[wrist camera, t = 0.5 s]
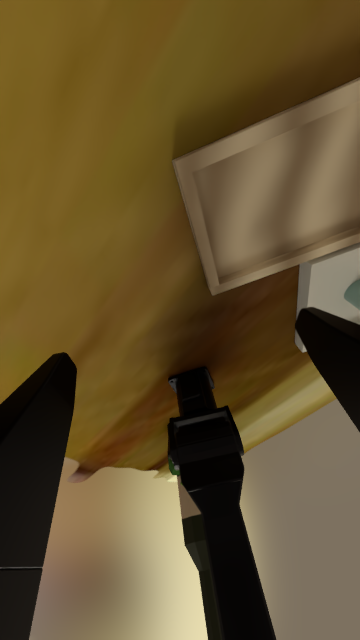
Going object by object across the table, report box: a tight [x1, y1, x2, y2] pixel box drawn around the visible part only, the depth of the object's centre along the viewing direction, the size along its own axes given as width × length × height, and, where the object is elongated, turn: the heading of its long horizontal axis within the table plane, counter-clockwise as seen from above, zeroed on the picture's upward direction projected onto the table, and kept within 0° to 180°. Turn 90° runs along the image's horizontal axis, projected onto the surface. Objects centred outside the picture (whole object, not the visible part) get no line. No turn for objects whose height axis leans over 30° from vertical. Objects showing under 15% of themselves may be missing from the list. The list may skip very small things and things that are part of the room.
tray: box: [172, 77, 360, 296], centre depth 18 cm, size 18×12×2 cm, turn 109°
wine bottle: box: [177, 475, 222, 640], centre depth 49 cm, size 8×8×30 cm
